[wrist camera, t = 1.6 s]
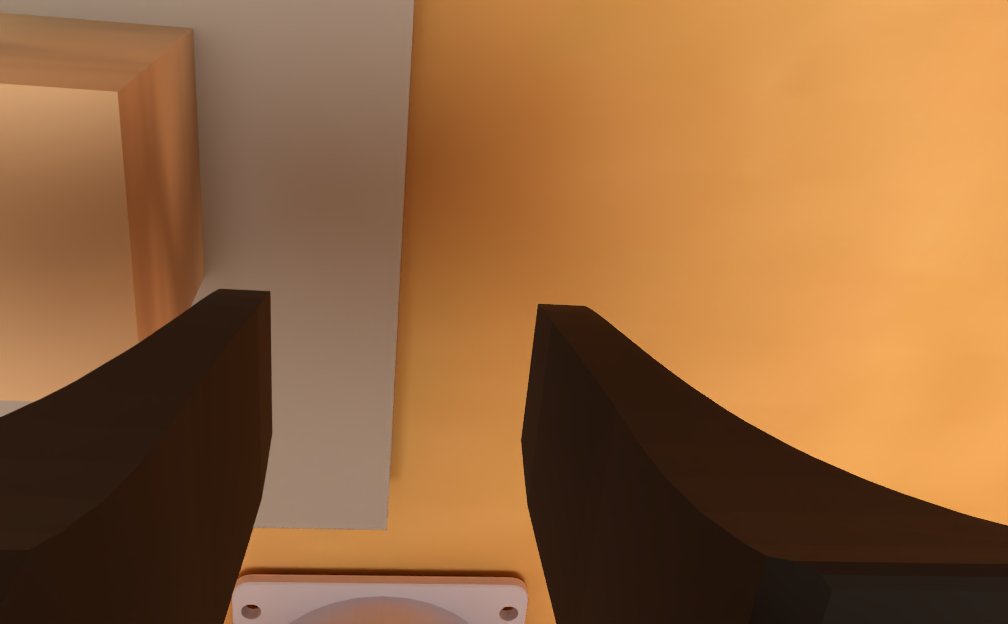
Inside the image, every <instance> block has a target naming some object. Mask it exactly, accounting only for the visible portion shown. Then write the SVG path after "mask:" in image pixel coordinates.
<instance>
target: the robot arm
mask: <svg viewBox="0 0 1008 624" xmlns="http://www.w3.org/2000/svg"><path fill="white" fill-rule="evenodd" d="M271 439H272V366H271V295H270V291H258V290H237V289H218V290H216V291H214V292H212V293H211V294H209V295H208V296H206V297H205V298H203V299H202V300H200V301H199V302H197V303H196V304H194V305H193V306H192V307H190V308H189V309H187V310H186V311H185V312H183V313H182V314H180V315H179V316H177V317H176V318H175V319H173V320H172V321H170V322H169V323H167V324H166V325H164V326H163V327H161V328H160V329H158V330H157V331H156V332H154V333H153V334H151V335H150V336H148V337H147V338H145V339H144V340H142V341H141V342H139V343H138V344H136V345H135V346H133V347H132V348H130V349H128V350H127V351H125V352H123V353H122V354H120V355H118V356H117V357H115V358H113V359H111V360H110V361H108V362H106V363H105V364H103V365H101V366H100V367H98V368H96V369H95V370H93V371H91V372H90V373H88V374H86V375H85V376H83V377H81V378H80V379H78V380H76V381H74V382H72V383H71V384H69V385H67V386H65V387H63V388H61V389H59V390H57V391H55V392H53V393H51V394H49V395H47V396H45V397H43V398H41V399H39V400H37V401H35V402H32V403H30V404H28V405H26V406H24V407H22V408H19V409H17V410H15V411H13V412H11V413H8V414H6V415H4V416H2V417H0V624H223V623H224V620H225V617H226V614H227V610H228V607H229V604H230V601H231V597H232V616H233V624H525V618H526V611H527V604H528V593H527V587H526V585H525V583H524V582H523V581H521V580H520V579H518V578H513V577H447V576H363V575H278V574H250V575H244V576H242V577H240V578H239V579H238V580H237V578H238V575H239V572H240V569H241V565H242V562H243V559H244V556H245V553H246V549H247V546H248V543H249V540H250V536H251V533H252V530H253V526H254V523H255V520H256V517H257V513H258V510H259V507H260V503H261V500H262V495H263V489H264V483H265V477H266V471H267V465H268V458H269V452H270V446H271ZM521 443H522V454H523V465H524V476H525V486H526V495H527V504H528V509H529V513H530V517H531V522H532V526H533V530H534V534H535V538H536V543H537V547H538V551H539V555H540V559H541V563H542V567H543V571H544V575H545V579H546V583H547V587H548V591H549V595H550V599H551V603H552V607H553V612H554V616H555V620H556V624H1008V526H1007V525H1003V524H999V523H995V522H991V521H988V520H984V519H980V518H976V517H972V516H969V515H966V514H962V513H959V512H956V511H953V510H950V509H947V508H944V507H941V506H938V505H935V504H932V503H929V502H926V501H923V500H920V499H917V498H914V497H911V496H908V495H905V494H902V493H899V492H897V491H894V490H891V489H889V488H886V487H884V486H881V485H878V484H876V483H873V482H870V481H868V480H865V479H863V478H860V477H858V476H856V475H853V474H851V473H849V472H846V471H844V470H842V469H840V468H837V467H835V466H833V465H830V464H828V463H826V462H823V461H821V460H819V459H816V458H814V457H812V456H810V455H808V454H806V453H804V452H802V451H800V450H798V449H796V448H794V447H792V446H790V445H788V444H786V443H784V442H782V441H780V440H778V439H777V438H775V437H773V436H771V435H769V434H767V433H766V432H764V431H762V430H760V429H758V428H756V427H755V426H753V425H751V424H749V423H747V422H745V421H744V420H742V419H740V418H739V417H737V416H735V415H734V414H732V413H730V412H729V411H727V410H726V409H724V408H723V407H721V406H720V405H718V404H717V403H715V402H714V401H712V400H711V399H709V398H708V397H706V396H705V395H703V394H702V393H700V392H699V391H697V390H696V389H694V388H693V387H691V386H690V385H688V384H687V383H686V382H684V381H683V380H682V379H680V378H679V377H677V376H676V375H675V374H673V373H672V372H671V371H669V370H668V369H667V368H665V367H664V366H663V365H661V364H660V363H659V362H658V361H656V360H655V359H654V358H652V357H651V356H650V355H649V354H647V353H646V352H645V351H643V350H642V349H641V348H640V347H638V346H637V345H636V344H635V343H633V342H632V341H631V340H630V339H629V338H627V337H626V336H625V335H624V334H622V333H621V332H620V331H619V330H617V329H616V328H615V327H614V326H612V325H611V324H610V323H609V322H607V321H606V320H605V319H604V318H602V317H601V316H600V315H598V314H597V313H596V312H594V311H593V310H591V309H590V308H588V307H586V306H572V305H551V304H538V309H537V317H536V325H535V333H534V341H533V349H532V357H531V365H530V374H529V382H528V390H527V398H526V406H525V414H524V422H523V430H522V438H521ZM250 604H252V605H256V606H258V607H259V608H255V609H252V608H248V607H247V606H245V605H250ZM509 606H510V607H514V608H513V609H512V610H507V611H506V610H502V609H503V608H504V607H509Z"/></svg>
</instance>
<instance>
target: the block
mask: <svg viewBox="0 0 1008 624" xmlns="http://www.w3.org/2000/svg"><path fill="white" fill-rule="evenodd" d="M204 277H205V268H204V247H203V226H202V204H201V183H200V162H199V141H198V120H197V99H196V78H195V57H194V36H193V28H185V27H173V26H161V25H148V24H136V23H123V22H111V21H98V20H86V19H73V18H61V17H49V16H36V15H24V14H11V13H0V400H2V401H32V402H35V401H37V400H39V399H41V398H43V397H45V396H47V395H49V394H51V393H53V392H55V391H57V390H59V389H61V388H63V387H65V386H67V385H69V384H71V383H72V382H74V381H76V380H78V379H80V378H81V377H83V376H85V375H86V374H88V373H90V372H91V371H93V370H95V369H96V368H98V367H100V366H101V365H103V364H105V363H106V362H108V361H110V360H111V359H113V358H115V357H117V356H118V355H120V354H122V353H123V352H125V351H127V350H128V349H130V348H132V347H133V346H135V345H136V344H138V343H139V342H141V341H142V340H144V339H145V338H147V337H148V336H150V335H151V334H153V333H154V332H156V331H157V330H158V329H160V328H161V327H163V326H164V325H166V324H167V323H169V322H170V321H172V320H173V319H175V318H176V317H177V316H179V315H180V314H182V313H183V312H185V311H186V310H187V309H189V308H190V307H191V305H192V303H193V301H194V298H195V296H196V294H197V292H198V290H199V288H200V286H201V284H202V282H203V280H204Z"/></svg>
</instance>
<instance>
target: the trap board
mask: <svg viewBox="0 0 1008 624" xmlns="http://www.w3.org/2000/svg"><path fill="white" fill-rule="evenodd" d="M0 13H11V14H24V15H36V16H49V17H61V18H73V19H86V20H98V21H111V22H123V23H136V24H148V25H161V26H173V27H185V28H193V36H194V57H195V78H196V99H197V120H198V141H199V162H200V183H201V204H202V226H203V247H204V268H205V277H204V280H203V282H202V284H201V286H200V288H199V290H198V292H197V294H196V296H195V298H194V301H193V303H192V305H191V307H192V306H193V305H194V304H196V303H197V302H199V301H200V300H202V299H203V298H205V297H206V296H208V295H209V294H211V293H212V292H214V291H216V290H218V289H237V290H258V291H270V295H271V366H272V439H271V446H270V452H269V458H268V465H267V471H266V477H265V483H264V489H263V495H262V500H261V503H260V507H259V510H258V513H257V517H256V520H255V523H254V526H253V528H303V529H359V530H387V518H388V499H389V480H390V460H391V441H392V421H393V402H394V383H395V363H396V344H397V325H398V305H399V286H400V266H401V247H402V228H403V208H404V189H405V170H406V150H407V131H408V112H409V92H410V73H411V53H412V34H413V15H414V0H0ZM30 403H32V401H2V400H0V417H2V416H4V415H6V414H8V413H11V412H13V411H15V410H17V409H19V408H22V407H24V406H26V405H28V404H30Z"/></svg>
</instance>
